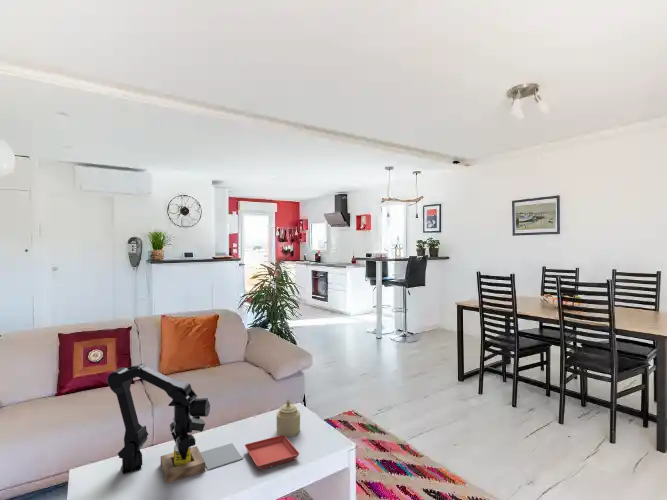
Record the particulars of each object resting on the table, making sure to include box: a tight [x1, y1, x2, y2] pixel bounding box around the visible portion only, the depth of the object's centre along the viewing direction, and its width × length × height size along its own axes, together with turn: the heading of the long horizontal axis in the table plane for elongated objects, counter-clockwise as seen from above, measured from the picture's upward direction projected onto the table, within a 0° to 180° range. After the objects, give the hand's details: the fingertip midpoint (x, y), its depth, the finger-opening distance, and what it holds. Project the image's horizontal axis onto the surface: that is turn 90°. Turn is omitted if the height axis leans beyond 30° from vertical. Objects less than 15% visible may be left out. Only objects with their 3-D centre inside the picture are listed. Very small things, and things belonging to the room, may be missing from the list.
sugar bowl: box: [276, 399, 301, 438], centre depth 181 cm, size 15×11×15 cm
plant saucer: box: [244, 435, 300, 470], centre depth 159 cm, size 18×18×3 cm
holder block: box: [159, 445, 206, 484], centre depth 150 cm, size 14×14×4 cm
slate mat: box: [200, 442, 244, 471], centre depth 158 cm, size 14×14×1 cm
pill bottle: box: [173, 437, 192, 467], centre depth 150 cm, size 6×6×11 cm
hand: (182, 455), depth 150 cm, fingers closed on pill bottle, 6 cm apart
